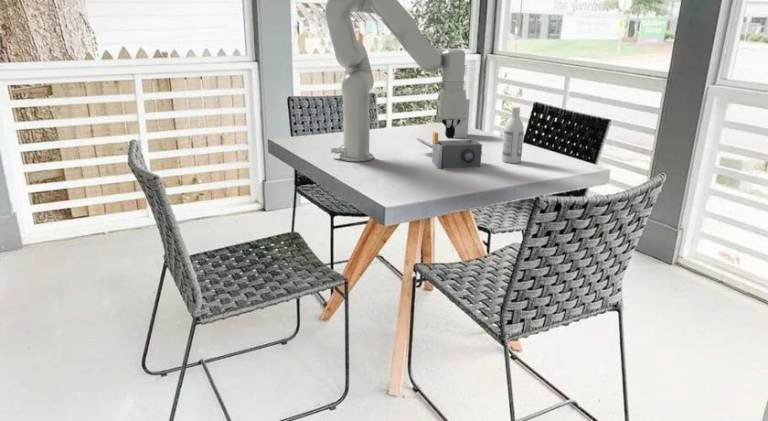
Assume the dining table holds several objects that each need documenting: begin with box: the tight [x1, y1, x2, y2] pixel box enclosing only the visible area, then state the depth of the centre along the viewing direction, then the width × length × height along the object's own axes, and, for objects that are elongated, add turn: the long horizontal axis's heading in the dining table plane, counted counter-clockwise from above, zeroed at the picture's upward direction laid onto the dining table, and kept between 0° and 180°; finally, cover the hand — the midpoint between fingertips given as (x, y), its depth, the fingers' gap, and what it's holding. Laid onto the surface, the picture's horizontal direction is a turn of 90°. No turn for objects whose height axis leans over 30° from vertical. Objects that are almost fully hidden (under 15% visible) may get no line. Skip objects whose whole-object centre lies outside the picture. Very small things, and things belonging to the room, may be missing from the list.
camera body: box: [438, 138, 483, 169], centre depth 211 cm, size 14×10×9 cm
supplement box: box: [444, 95, 471, 139], centre depth 258 cm, size 10×9×17 cm
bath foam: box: [501, 106, 524, 164], centre depth 215 cm, size 7×7×20 cm
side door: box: [431, 131, 442, 170], centre depth 210 cm, size 1×9×11 cm, turn 10°
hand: (449, 137), depth 212 cm, fingers closed
